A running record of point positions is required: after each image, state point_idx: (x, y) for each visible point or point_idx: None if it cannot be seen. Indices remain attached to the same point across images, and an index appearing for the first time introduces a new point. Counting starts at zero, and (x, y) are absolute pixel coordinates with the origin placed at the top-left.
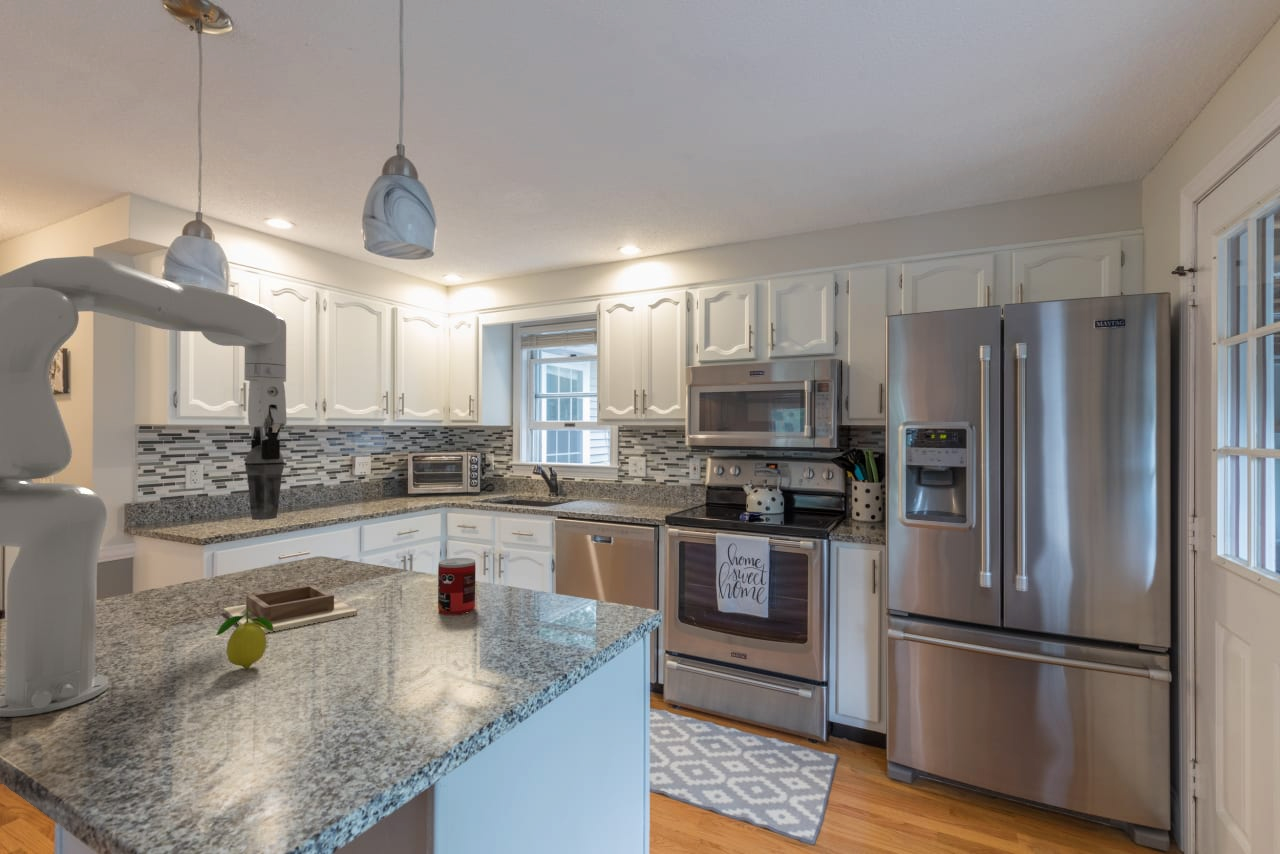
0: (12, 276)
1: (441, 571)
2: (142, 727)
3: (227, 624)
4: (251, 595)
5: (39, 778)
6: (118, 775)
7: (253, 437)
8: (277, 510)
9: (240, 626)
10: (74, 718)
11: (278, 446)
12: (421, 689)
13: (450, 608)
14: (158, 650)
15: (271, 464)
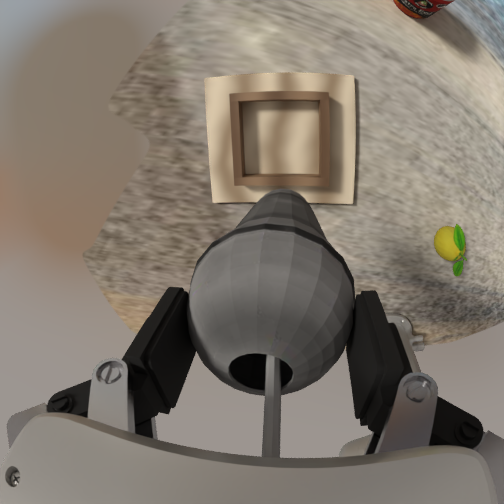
0: None
1: (440, 2)
2: (470, 301)
3: (458, 271)
4: (240, 180)
5: (475, 332)
6: (499, 310)
7: (153, 417)
8: (300, 196)
9: (457, 257)
10: (428, 326)
11: (391, 340)
12: None
13: (430, 15)
14: None
15: (354, 299)
